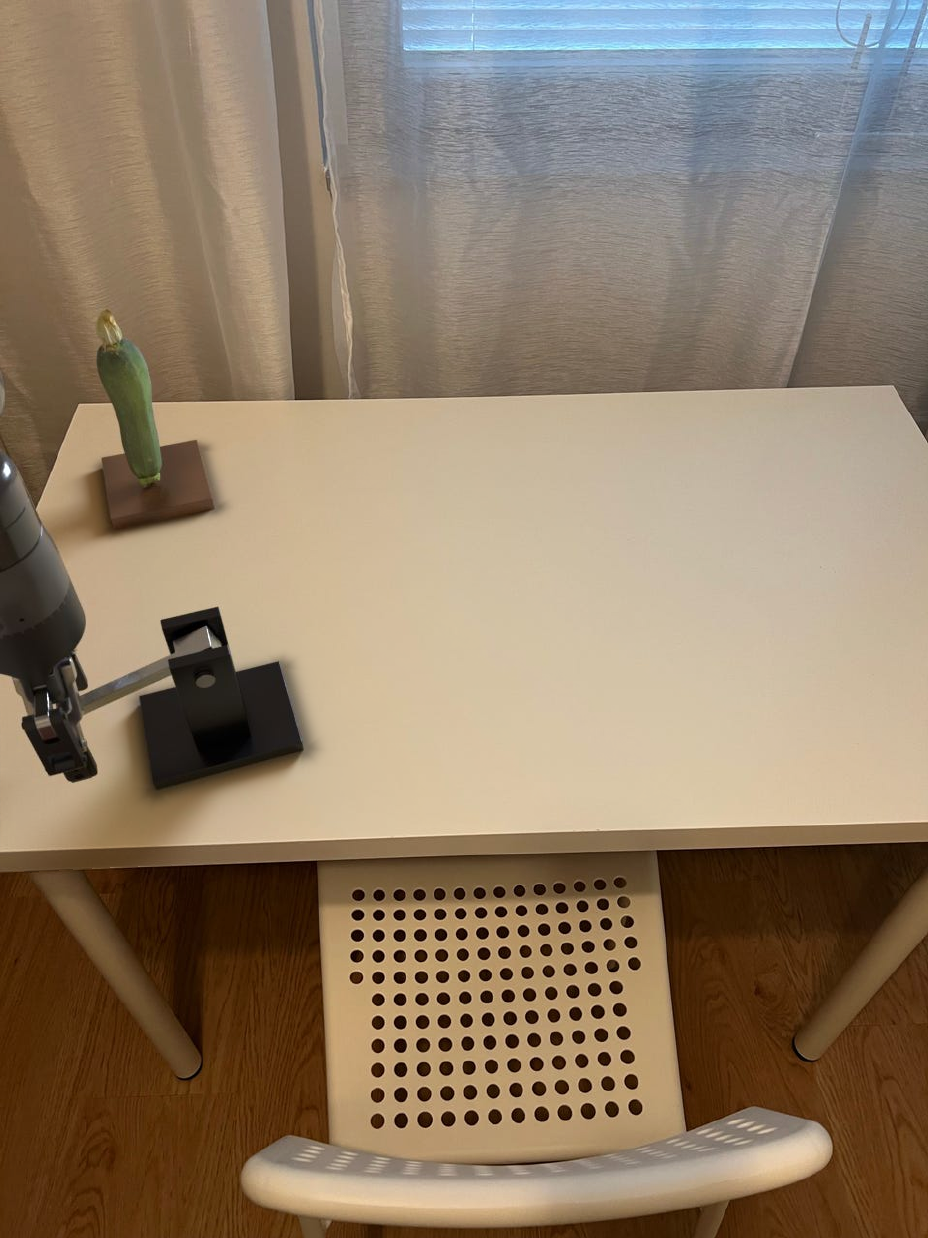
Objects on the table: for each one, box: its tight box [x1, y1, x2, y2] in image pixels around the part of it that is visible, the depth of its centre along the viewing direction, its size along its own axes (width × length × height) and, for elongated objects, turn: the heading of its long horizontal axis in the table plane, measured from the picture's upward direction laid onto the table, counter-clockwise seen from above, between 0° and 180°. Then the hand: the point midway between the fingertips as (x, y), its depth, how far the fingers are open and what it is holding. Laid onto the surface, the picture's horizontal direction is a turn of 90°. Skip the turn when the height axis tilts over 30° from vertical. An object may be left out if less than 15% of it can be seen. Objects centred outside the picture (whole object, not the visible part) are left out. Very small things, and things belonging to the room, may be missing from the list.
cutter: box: [138, 606, 305, 791], centre depth 74 cm, size 12×9×12 cm
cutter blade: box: [55, 626, 221, 716], centre depth 71 cm, size 13×5×2 cm, turn 109°
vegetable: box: [95, 308, 162, 488], centre depth 89 cm, size 4×4×20 cm
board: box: [101, 439, 216, 530], centre depth 98 cm, size 10×10×2 cm
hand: (79, 730), depth 73 cm, fingers open, 8 cm apart
